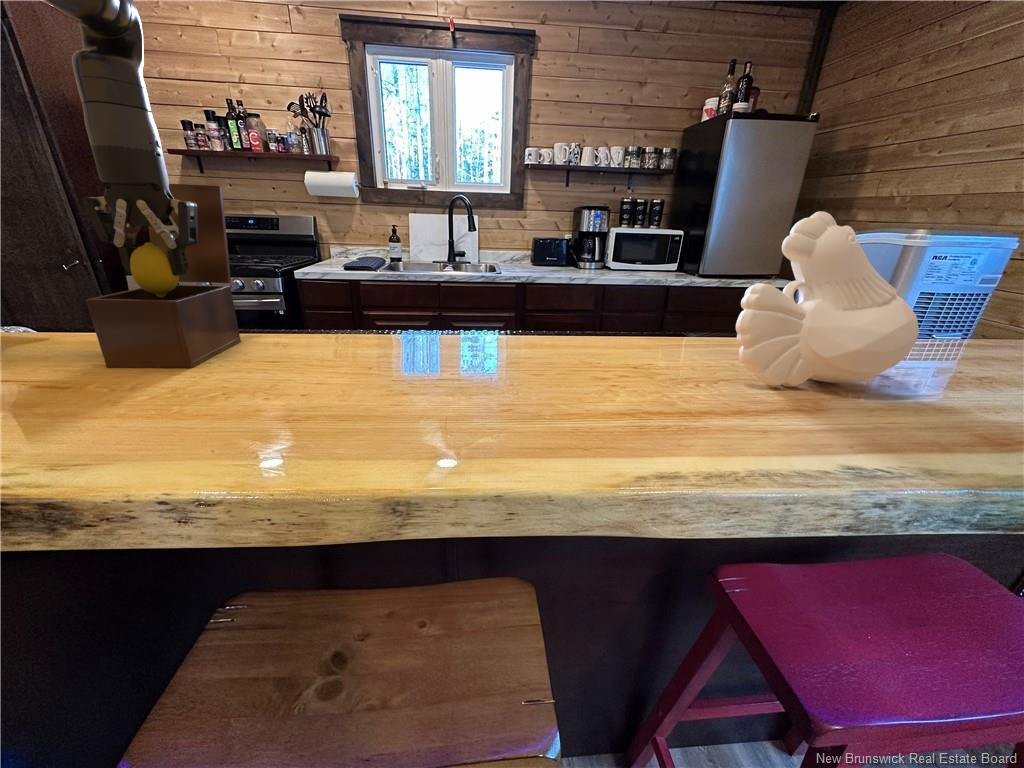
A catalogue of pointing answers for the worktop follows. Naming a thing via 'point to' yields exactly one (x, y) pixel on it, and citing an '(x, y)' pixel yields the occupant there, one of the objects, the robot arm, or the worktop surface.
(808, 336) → the decorative rooster
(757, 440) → the worktop surface
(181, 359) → the chest
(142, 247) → the lemon
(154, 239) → the lid
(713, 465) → the worktop surface
